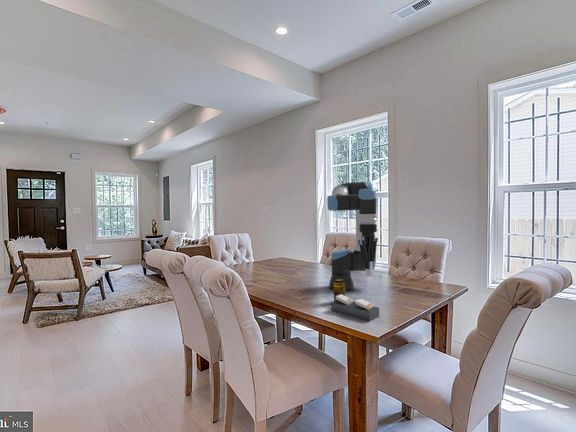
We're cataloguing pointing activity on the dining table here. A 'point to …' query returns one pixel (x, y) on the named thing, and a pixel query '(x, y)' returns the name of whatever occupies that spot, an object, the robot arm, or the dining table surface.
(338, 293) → the condiment
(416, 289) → the dining table surface
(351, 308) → the power strip
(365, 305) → the block
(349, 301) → the rocker
